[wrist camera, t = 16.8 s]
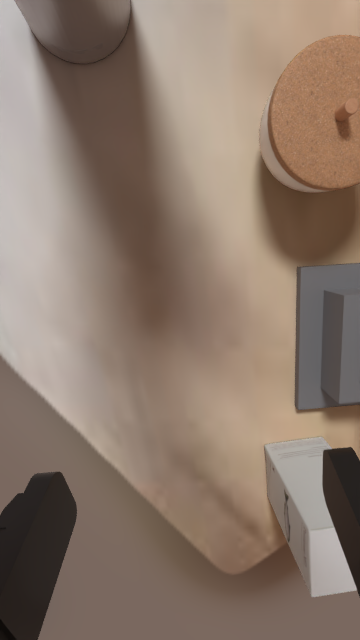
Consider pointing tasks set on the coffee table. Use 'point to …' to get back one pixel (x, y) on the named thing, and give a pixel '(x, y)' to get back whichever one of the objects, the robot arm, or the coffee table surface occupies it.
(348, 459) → the robot arm
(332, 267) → the socket block
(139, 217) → the coffee table surface
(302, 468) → the supplement box
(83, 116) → the coffee table surface
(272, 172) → the lidded jar
